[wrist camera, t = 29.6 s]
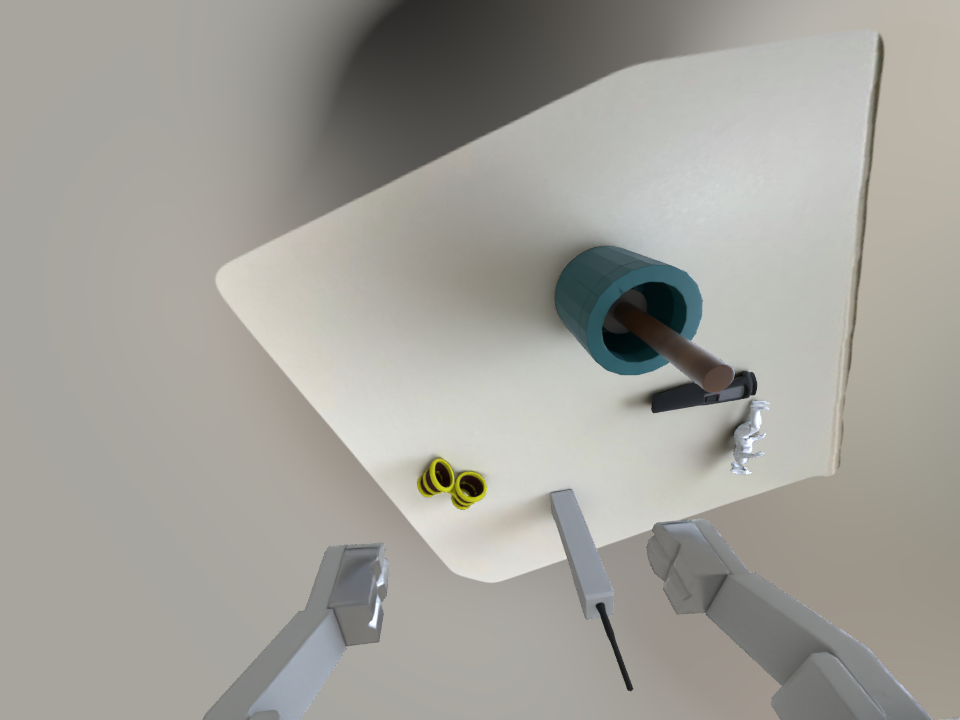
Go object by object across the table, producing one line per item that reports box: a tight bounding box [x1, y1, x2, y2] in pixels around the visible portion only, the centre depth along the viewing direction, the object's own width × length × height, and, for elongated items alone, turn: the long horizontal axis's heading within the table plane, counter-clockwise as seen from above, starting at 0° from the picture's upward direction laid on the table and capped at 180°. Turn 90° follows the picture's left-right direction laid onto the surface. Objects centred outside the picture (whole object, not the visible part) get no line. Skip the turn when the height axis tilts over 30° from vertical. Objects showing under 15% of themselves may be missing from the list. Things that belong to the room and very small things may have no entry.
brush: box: [603, 288, 735, 393], centre depth 32 cm, size 5×5×20 cm
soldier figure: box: [730, 401, 770, 475], centre depth 52 cm, size 8×5×12 cm
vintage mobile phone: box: [551, 490, 633, 691], centre depth 47 cm, size 4×5×25 cm
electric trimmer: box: [651, 371, 757, 413], centre depth 48 cm, size 4×16×3 cm, turn 100°
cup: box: [555, 246, 703, 375], centre depth 37 cm, size 11×11×11 cm
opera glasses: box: [417, 458, 487, 510], centre depth 51 cm, size 10×5×5 cm, turn 58°
